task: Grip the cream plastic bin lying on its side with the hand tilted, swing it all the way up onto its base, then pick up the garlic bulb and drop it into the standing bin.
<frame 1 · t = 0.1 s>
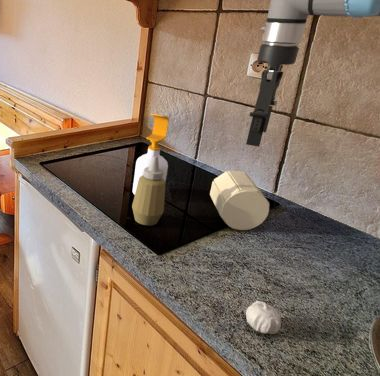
hand: (256, 137, 97), 23 cm above the worktop, tool pointing down, fingers open, 13 cm apart
soap bottle: (147, 194, 121), on the worktop
squeeze bottle: (145, 221, 107), on the worktop
bin: (238, 199, 107), point 5 cm above the worktop, hinge at 90.0°
garlic: (259, 328, 72), on the worktop
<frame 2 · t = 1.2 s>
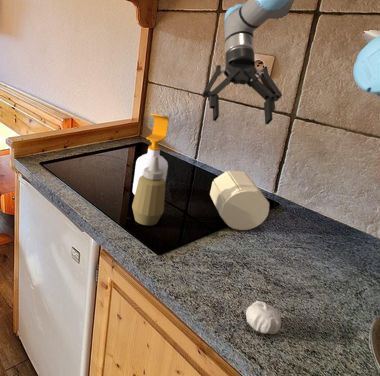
hand: (242, 120, 109), 24 cm above the worktop, tool tilted 45°, fingers open, 13 cm apart
nothing on the worktop moved.
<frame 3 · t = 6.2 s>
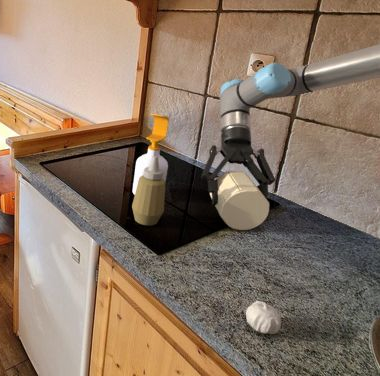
hand: (238, 206, 106), 4 cm above the worktop, tool tilted 45°, fingers closed on bin, 11 cm apart
bin: (238, 199, 107), point 5 cm above the worktop, hinge at 90.0°, touching gripper
everything else where it was.
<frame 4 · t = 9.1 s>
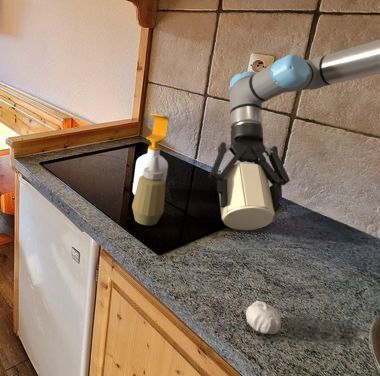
hand: (249, 208, 98), 7 cm above the worktop, tool tilted 45°, fingers closed on bin, 11 cm apart
bin: (244, 197, 102), point 8 cm above the worktop, hinge at 58.2°, touching gripper
everything else where it was.
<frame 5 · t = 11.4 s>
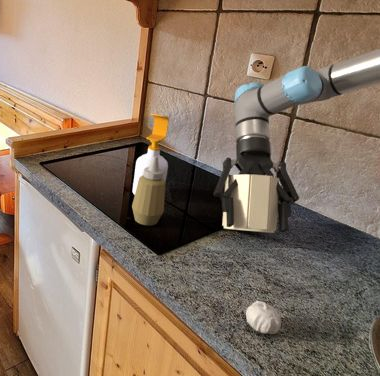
hand: (256, 228, 93), 6 cm above the worktop, tool tilted 45°, fingers closed on bin, 11 cm apart
bin: (250, 204, 98), point 8 cm above the worktop, hinge at 28.9°, touching gripper
everything else where it was.
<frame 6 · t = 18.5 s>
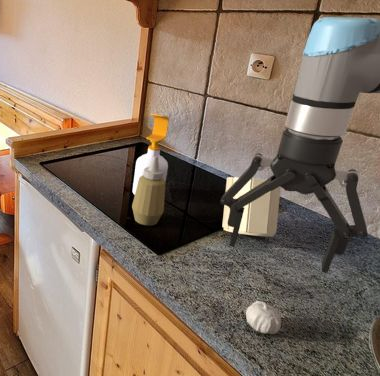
hand: (276, 255, 68), 14 cm above the worktop, tool pointing down, fingers open, 13 cm apart
bin: (250, 206, 98), point 8 cm above the worktop, hinge at 23.8°
everything else where it was.
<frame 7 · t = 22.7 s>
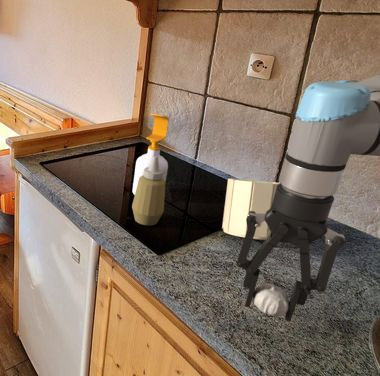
hand: (267, 308, 70), 4 cm above the worktop, tool pointing down, fingers closed on garlic, 6 cm apart
bin: (251, 207, 97), point 8 cm above the worktop, hinge at 19.7°
garlic: (266, 310, 71), point 4 cm above the worktop, touching gripper
everything else where it was.
when the fingers open (15 cm above the worktop, at t = 27.6 s): garlic drops 9 cm, resting on bin.
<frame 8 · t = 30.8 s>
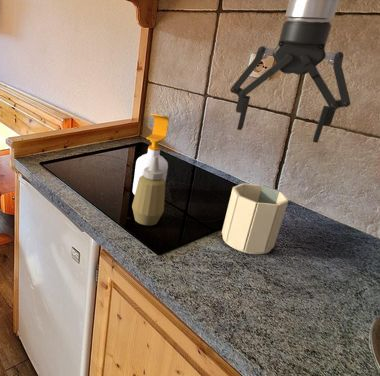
hand: (276, 134, 82), 29 cm above the worktop, tool pointing down, fingers open, 13 cm apart
bin: (253, 218, 96), point 6 cm above the worktop, hinge at 0.0°, touching garlic
garlic: (253, 221, 96), point 5 cm above the worktop, touching bin
everything else where it was.
at the end: bin at +0° (first picture: +90°); garlic inside the target area on the bin (0.5 cm from its centre), point 5.5 cm above the bin's base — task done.
